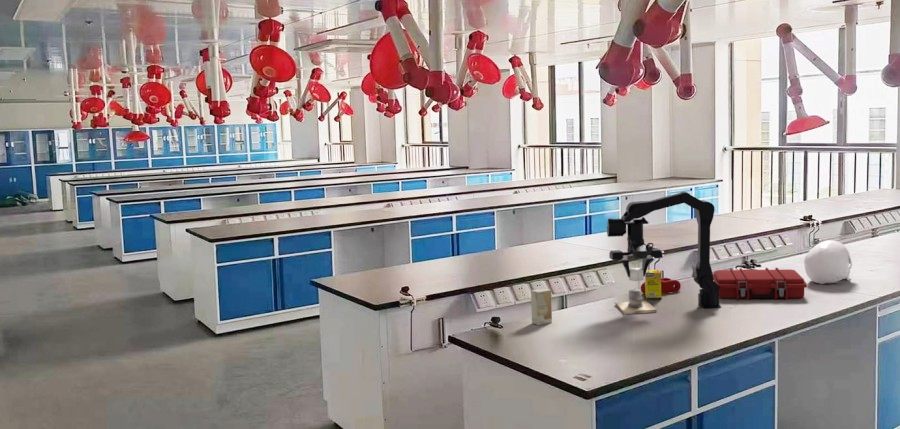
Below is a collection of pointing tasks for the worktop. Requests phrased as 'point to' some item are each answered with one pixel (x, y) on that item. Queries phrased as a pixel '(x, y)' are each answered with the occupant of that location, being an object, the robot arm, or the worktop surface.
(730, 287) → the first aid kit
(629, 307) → the beige square board
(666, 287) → the mechanical linkage
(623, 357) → the worktop surface
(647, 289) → the supplement box
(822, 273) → the lumpy white sphere
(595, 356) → the worktop surface
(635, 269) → the cap
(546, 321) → the skincare box
